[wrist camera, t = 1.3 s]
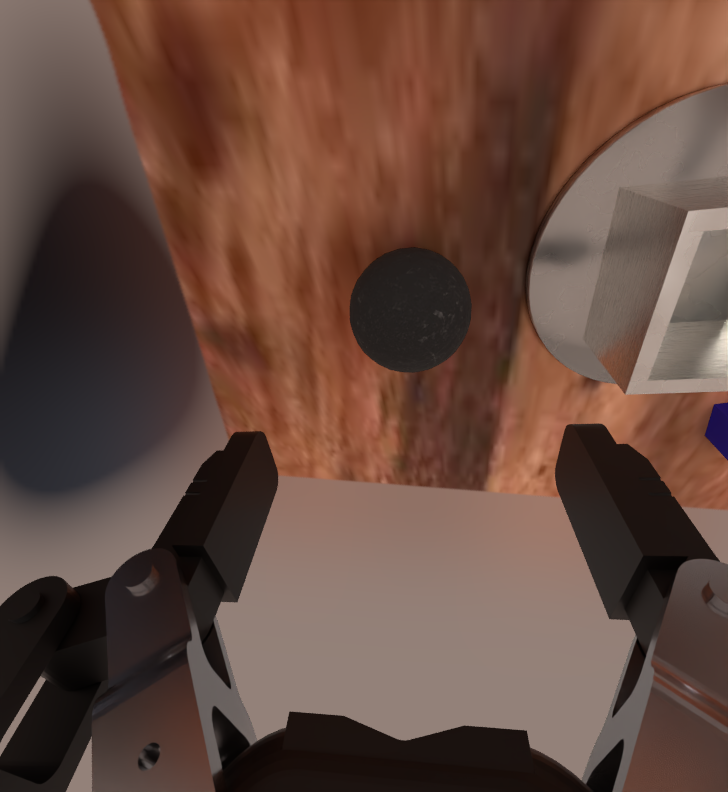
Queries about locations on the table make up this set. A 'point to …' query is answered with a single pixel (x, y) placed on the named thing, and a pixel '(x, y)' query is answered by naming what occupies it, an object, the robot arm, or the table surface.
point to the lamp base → (642, 255)
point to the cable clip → (719, 428)
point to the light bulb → (410, 310)
